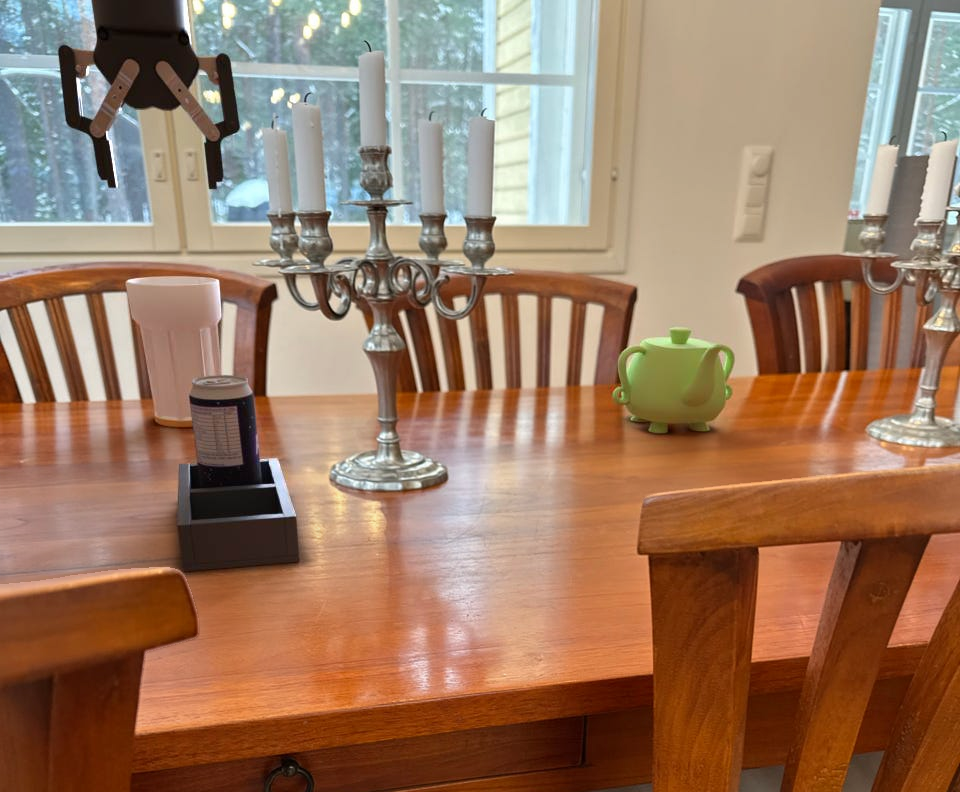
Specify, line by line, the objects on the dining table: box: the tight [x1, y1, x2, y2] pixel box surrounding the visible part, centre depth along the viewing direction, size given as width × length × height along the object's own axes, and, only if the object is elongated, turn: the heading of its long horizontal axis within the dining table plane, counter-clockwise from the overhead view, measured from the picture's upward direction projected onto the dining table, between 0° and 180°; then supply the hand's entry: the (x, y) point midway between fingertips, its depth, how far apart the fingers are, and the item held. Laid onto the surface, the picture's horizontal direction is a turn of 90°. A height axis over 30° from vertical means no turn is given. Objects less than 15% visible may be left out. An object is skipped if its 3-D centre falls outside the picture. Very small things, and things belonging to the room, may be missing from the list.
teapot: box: [612, 327, 736, 434], centre depth 119 cm, size 16×14×13 cm
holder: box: [176, 457, 301, 573], centre depth 82 cm, size 10×18×4 cm, turn 16°
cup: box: [125, 275, 222, 428], centre depth 116 cm, size 11×11×17 cm
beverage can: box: [189, 374, 262, 488], centre depth 83 cm, size 6×6×12 cm
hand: (163, 188), depth 80 cm, fingers open, 8 cm apart
